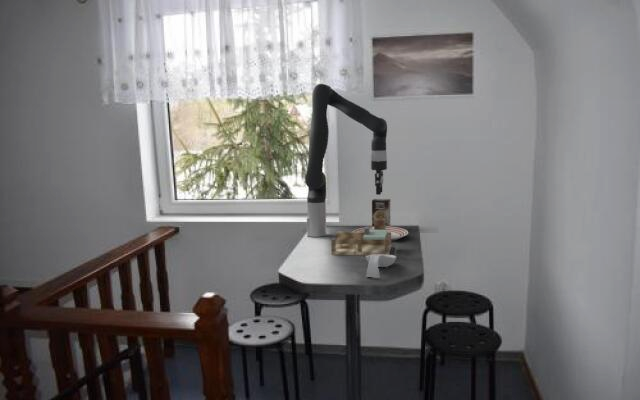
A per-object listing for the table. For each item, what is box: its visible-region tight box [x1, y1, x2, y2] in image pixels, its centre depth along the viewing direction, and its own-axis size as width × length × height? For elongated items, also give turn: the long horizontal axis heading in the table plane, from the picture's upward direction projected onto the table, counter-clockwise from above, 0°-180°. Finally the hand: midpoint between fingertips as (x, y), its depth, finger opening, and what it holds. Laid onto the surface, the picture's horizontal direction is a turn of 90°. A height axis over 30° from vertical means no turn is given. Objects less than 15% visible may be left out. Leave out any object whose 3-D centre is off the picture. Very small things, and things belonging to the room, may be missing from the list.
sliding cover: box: [363, 225, 388, 240], centre depth 213 cm, size 9×16×4 cm, turn 168°
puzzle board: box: [330, 231, 392, 256], centre depth 215 cm, size 24×16×7 cm
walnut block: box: [374, 219, 386, 230], centre depth 243 cm, size 5×5×6 cm
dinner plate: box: [352, 226, 409, 242], centre depth 243 cm, size 27×27×3 cm
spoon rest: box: [365, 254, 397, 279], centre depth 187 cm, size 24×12×7 cm, turn 165°
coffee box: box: [371, 198, 391, 227], centre depth 262 cm, size 9×6×16 cm
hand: (379, 193), depth 241 cm, fingers open, 8 cm apart
